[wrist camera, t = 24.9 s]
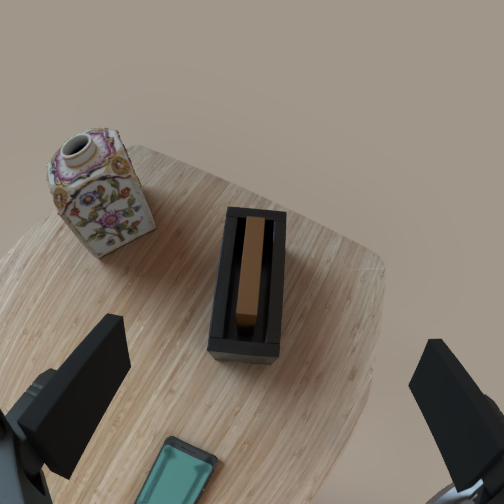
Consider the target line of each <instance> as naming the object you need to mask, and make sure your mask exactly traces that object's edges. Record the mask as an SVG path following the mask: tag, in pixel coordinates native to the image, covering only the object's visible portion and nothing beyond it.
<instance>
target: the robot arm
mask: <svg viewBox="0 0 504 504" xmlns="http://www.w3.org/2000/svg"><path fill="white" fill-rule="evenodd" d="M130 368H131V364H130V358H129V353H128V347H127V341H126V335H125V328H124V321H123V316H118V315H113V314H108V313H107V314H106V315H105V316H104V317H103V319H102V320H101V321H100V322H99V323H98V324H97V325H96V326H95V327H94V329H93V330H92V331H91V332H90V333H89V334H88V335H87V336H86V338H85V339H84V340H83V341H82V342H81V343H80V344H79V345H78V347H77V348H76V349H75V350H74V351H73V352H72V354H71V355H70V356H69V357H68V358H67V359H66V361H65V362H64V363H63V364H62V365H61V367H60V368H59V369H58V370H54V369H51V368H50V369H48V370H47V371H45V372H43V373H42V374H40V375H39V376H38V377H37V378H36V379H35V381H34V382H33V383H32V385H30V386H29V388H28V389H27V390H26V392H24V394H23V395H22V396H21V397H20V398H19V400H18V401H17V402H16V403H15V405H14V406H13V407H12V408H11V410H10V411H9V412H8V413H7V415H6V416H4V414H3V412H2V411H1V409H0V504H53V503H52V500H51V496H50V493H49V490H48V486H47V483H46V479H45V476H44V473H43V471H42V469H41V468H42V466H43V465H44V463H45V464H46V465H47V467H48V468H49V469H50V470H51V471H52V472H54V473H56V474H58V475H60V476H62V477H64V478H66V479H68V480H69V479H70V477H71V475H72V473H73V471H74V469H75V467H76V465H77V464H78V462H79V460H80V458H81V456H82V454H83V452H84V450H85V448H86V446H87V445H88V443H89V441H90V439H91V437H92V435H93V433H94V432H95V430H96V428H97V426H98V424H99V422H100V421H101V419H102V417H103V415H104V413H105V412H106V410H107V408H108V406H109V404H110V403H111V401H112V399H113V397H114V396H115V394H116V392H117V390H118V389H119V387H120V385H121V383H122V382H123V380H124V378H125V377H126V375H127V373H128V371H129V370H130ZM409 388H410V390H411V392H412V394H413V396H414V398H415V400H416V402H417V404H418V406H419V408H420V410H421V412H422V414H423V416H424V418H425V420H426V422H427V424H428V426H429V428H430V431H431V433H432V435H433V437H434V439H435V441H436V444H437V446H438V448H439V450H440V452H441V455H442V457H443V459H444V462H445V464H446V466H447V468H448V471H449V473H450V476H451V478H452V481H453V483H454V486H455V488H456V491H457V493H460V492H462V491H465V490H467V489H469V488H472V487H473V486H474V485H475V484H476V483H477V482H478V481H479V480H480V479H482V481H483V484H482V485H481V486H480V487H479V488H477V489H476V490H475V491H474V492H473V493H472V494H471V495H470V496H469V497H467V498H465V499H462V500H460V501H459V502H457V503H455V504H504V415H503V414H502V412H501V411H500V409H499V408H498V406H497V405H496V403H495V402H494V401H493V400H492V399H491V398H489V397H488V396H487V395H484V394H483V393H482V392H481V391H480V389H479V387H478V386H477V385H476V383H475V382H474V381H473V379H472V378H471V376H470V375H469V374H468V372H467V371H466V370H465V368H464V367H463V366H462V364H461V363H460V362H459V360H458V359H457V358H456V357H455V355H454V354H453V353H452V352H451V350H450V349H449V348H448V346H447V345H446V344H445V343H444V342H443V340H442V339H428V342H427V344H426V347H425V349H424V352H423V354H422V356H421V359H420V361H419V363H418V366H417V368H416V370H415V372H414V374H413V377H412V379H411V381H410V383H409ZM476 494H477V496H475V495H476Z"/></svg>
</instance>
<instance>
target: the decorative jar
mask: <svg viewBox="0 0 504 504" xmlns="http://www.w3.org/2000/svg"><path fill="white" fill-rule="evenodd" d="M47 181H48V185H49V188H50V192H51V194H52V196H53V201H54V204H55V206H56V208H57V211H58V213H57V214H58V215H60V216H61V218H62V219H63V220H64V221H65V223H66V224H67V225H68V226H69V228H70V229H71V230H72V232H73V233H74V234H75V235H76V236H77V238H78V239H79V240H80V241H81V242H82V243H83V245H84V246H85V247H86V248H87V249H88V250H89V251H90V252H91V253H92V255H93V256H95V257H96V258H97V259H99V258H100V257H102V256H104V255H106V254H108V253H110V252H112V251H114V250H115V249H117V248H119V247H121V246H123V245H125V244H127V243H129V242H130V241H132V240H134V239H136V238H138V237H140V236H142V235H144V234H146V233H148V232H150V231H152V230H153V229H155V228H156V224H155V221H154V219H153V216H152V213H151V211H150V208H149V206H148V204H147V201H146V199H145V197H144V194H143V191H142V189H141V183H140V181H139V178H138V177H137V176H136V173H135V170H134V169H133V166H132V164H131V160H130V158H129V157H128V154H127V149H126V148H125V146H124V144H122V141H121V139H120V135H119V132H118V131H117V130H114V129H109V128H91V129H88V130H86V131H84V132H82V133H80V134H78V135H75V136H73V137H72V138H70V139H68V140H67V141H66V142H64V144H63V145H62V146H61V147H60V148H59V149H58V151H57V152H56V153H55V154H54V155H53V157H52V158H51V160H50V161H49V162H48V164H47Z"/></svg>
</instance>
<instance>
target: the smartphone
mask: <svg viewBox="0 0 504 504" xmlns="http://www.w3.org/2000/svg"><path fill="white" fill-rule="evenodd" d="M216 463H217V457H216V456H214V455H212V454H210V453H207V452H205V451H203V450H201V449H198V448H196V447H194V446H192V445H190V444H188V443H186V442H184V441H182V440H180V439H178V438H176V437H174V436H169V437H167V438H166V440H165V442H164V444H163V446H162V448H161V450H160V452H159V454H158V456H157V458H156V460H155V462H154V464H153V466H152V468H151V470H150V472H149V474H148V476H147V478H146V480H145V482H144V485H143V487H142V489H141V491H140V493H139V495H138V497H137V499H136V501H135V503H134V504H196V503H197V502H198V500H199V499H200V497H201V495H202V493H203V489H205V487H206V486H207V484H208V482H209V479H210V478H211V476H212V474H213V472H214V467H215V465H216Z"/></svg>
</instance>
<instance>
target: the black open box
mask: <svg viewBox="0 0 504 504" xmlns="http://www.w3.org/2000/svg"><path fill="white" fill-rule="evenodd" d="M247 216H251V217H262V218H265V225H264V238H263V250H262V263H261V275H260V287H259V299H258V311H257V318H256V324H255V329H254V334H253V337H250V336H239V335H238V331H237V317H236V310H237V301H238V292H239V283H240V274H241V265H242V256H243V247H244V238H245V229H246V221H247ZM285 241H286V212H282V211H272V210H262V209H251V208H239V207H227V214H226V220H225V226H224V233H223V239H222V246H221V252H220V259H219V266H218V273H217V280H216V287H215V294H214V301H213V309H212V316H211V324H210V331H209V339H208V347H207V351H208V352H209V353H210V354H211V355H212V357H213V358H214V359H215V360H223V361H232V362H242V363H253V364H265V365H271V364H272V363H273V362H274V361H275V360H276V359H277V358H279V350H280V336H281V320H282V303H283V284H284V264H285Z"/></svg>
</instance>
